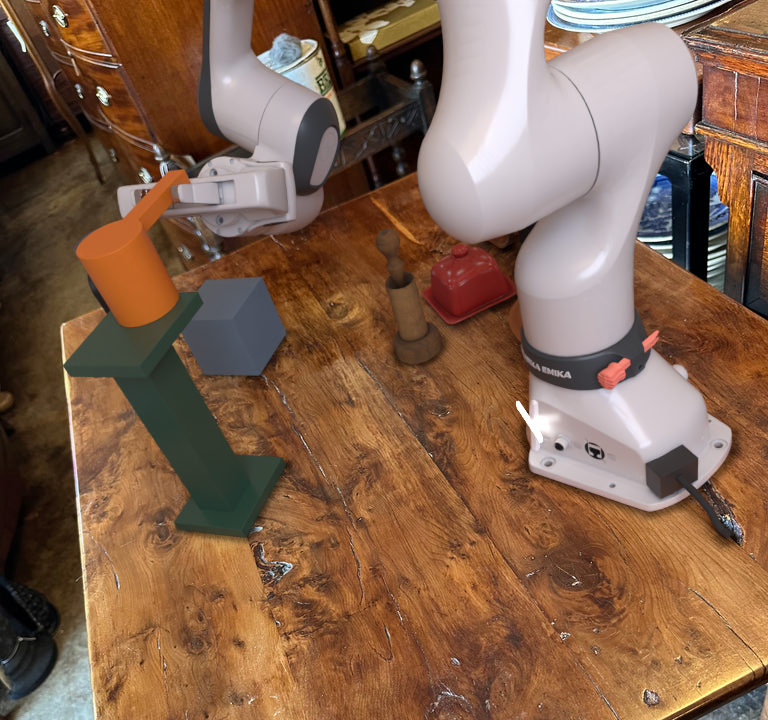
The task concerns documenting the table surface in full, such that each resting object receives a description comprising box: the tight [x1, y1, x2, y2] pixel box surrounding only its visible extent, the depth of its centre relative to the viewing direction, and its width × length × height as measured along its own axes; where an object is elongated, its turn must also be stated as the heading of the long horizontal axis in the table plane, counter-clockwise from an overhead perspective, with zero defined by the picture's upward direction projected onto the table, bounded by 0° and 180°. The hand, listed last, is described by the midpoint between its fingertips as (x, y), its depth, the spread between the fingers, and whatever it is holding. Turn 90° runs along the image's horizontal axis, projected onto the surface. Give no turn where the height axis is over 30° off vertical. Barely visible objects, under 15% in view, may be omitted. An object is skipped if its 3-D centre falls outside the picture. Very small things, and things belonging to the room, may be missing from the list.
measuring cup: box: [75, 168, 191, 327], centre depth 82 cm, size 17×7×8 cm, turn 160°
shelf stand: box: [62, 291, 287, 539], centre depth 90 cm, size 12×10×26 cm
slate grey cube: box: [180, 276, 287, 377], centre depth 117 cm, size 10×10×10 cm
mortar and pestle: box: [375, 228, 443, 365], centre depth 102 cm, size 7×6×18 cm
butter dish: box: [421, 243, 517, 325], centre depth 111 cm, size 12×12×8 cm
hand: (156, 196), depth 82 cm, fingers open, 4 cm apart
